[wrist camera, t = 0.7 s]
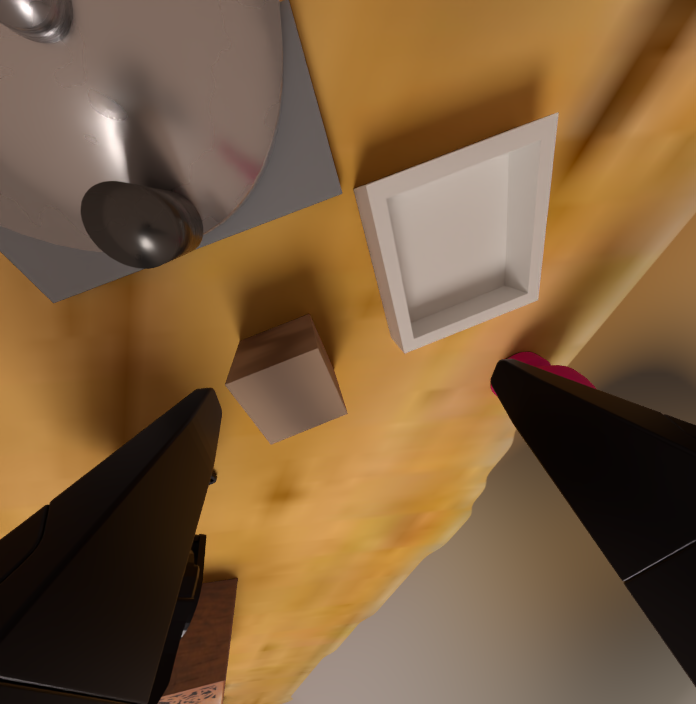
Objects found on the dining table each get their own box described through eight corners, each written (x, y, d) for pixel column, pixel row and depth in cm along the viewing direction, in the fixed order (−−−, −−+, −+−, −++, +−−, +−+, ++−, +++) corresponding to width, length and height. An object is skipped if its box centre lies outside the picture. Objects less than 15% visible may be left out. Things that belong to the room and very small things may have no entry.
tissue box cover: (122, 592, 34) (68, 721, 25) (238, 575, 38) (225, 680, 30) (143, 658, 45) (110, 762, 36) (230, 639, 49) (219, 728, 41)
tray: (391, 337, 23) (404, 353, 20) (353, 189, 17) (365, 185, 14) (510, 290, 23) (538, 300, 21) (517, 127, 17) (558, 112, 14)
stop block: (273, 393, 23) (271, 444, 18) (239, 340, 20) (224, 384, 15) (333, 369, 24) (347, 413, 18) (309, 313, 20) (317, 348, 15)
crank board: (65, 298, 16) (49, 304, 15) (-626, -404, 6) (-827, -538, 5) (339, 194, 17) (343, 193, 16) (110, -611, 7) (76, -775, 6)
